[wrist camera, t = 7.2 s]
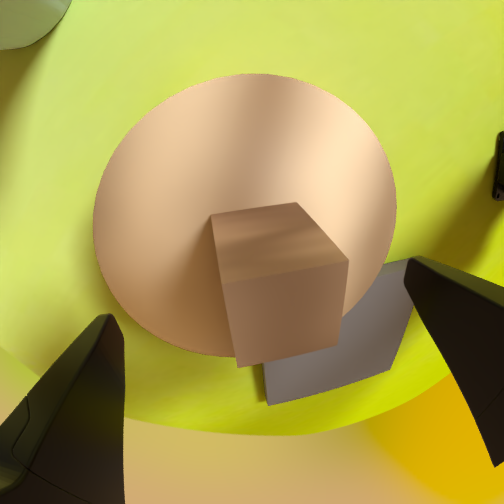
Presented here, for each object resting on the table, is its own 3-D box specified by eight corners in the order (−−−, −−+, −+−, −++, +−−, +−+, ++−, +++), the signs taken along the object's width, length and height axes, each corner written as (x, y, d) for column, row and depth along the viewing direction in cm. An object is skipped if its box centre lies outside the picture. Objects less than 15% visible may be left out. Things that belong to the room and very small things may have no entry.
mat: (416, 256, 20) (425, 264, 19) (385, 361, 27) (389, 369, 26) (254, 290, 19) (258, 302, 18) (265, 395, 25) (267, 405, 24)
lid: (384, 80, 9) (484, 89, 5) (365, 312, 15) (411, 380, 11) (71, 112, 8) (-16, 132, 4) (149, 354, 14) (145, 441, 10)
